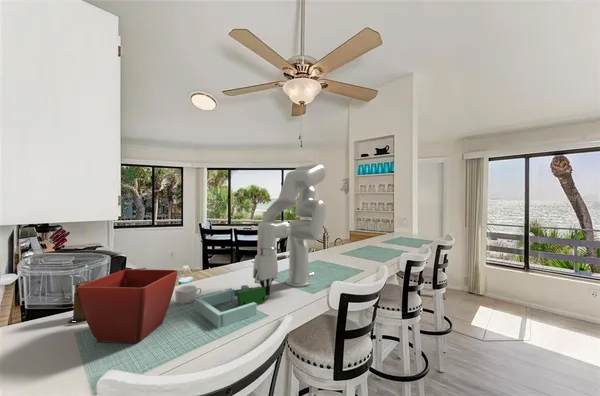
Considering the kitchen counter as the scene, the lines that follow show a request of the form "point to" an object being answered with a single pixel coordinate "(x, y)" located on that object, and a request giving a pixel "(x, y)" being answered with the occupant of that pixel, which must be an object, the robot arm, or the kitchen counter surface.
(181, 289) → the teacup
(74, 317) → the condiment
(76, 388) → the kitchen counter surface
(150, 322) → the plant pot
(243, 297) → the clamp
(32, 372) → the kitchen counter surface
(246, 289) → the clip
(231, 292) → the clip
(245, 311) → the end holder
